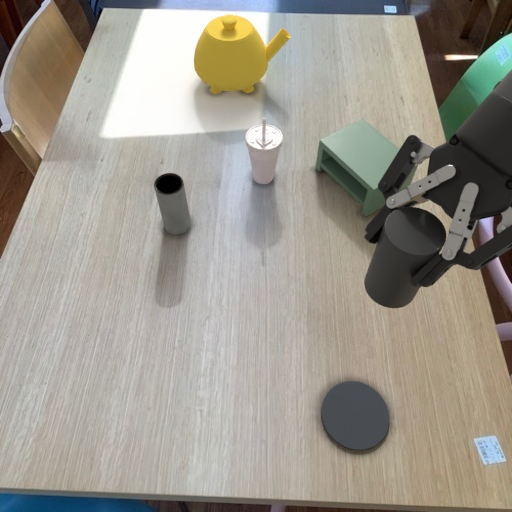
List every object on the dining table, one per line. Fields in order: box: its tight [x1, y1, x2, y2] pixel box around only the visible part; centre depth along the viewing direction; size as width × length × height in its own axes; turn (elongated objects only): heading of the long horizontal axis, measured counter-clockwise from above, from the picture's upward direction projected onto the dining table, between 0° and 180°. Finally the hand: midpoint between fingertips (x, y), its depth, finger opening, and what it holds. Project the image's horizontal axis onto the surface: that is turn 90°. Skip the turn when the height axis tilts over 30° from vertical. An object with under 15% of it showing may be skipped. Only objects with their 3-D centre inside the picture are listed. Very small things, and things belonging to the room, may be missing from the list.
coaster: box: [320, 380, 390, 451], centre depth 63 cm, size 9×9×1 cm
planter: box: [153, 172, 192, 236], centre depth 77 cm, size 4×4×10 cm
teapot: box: [193, 14, 292, 95], centre depth 98 cm, size 20×16×14 cm
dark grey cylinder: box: [363, 206, 447, 309], centre depth 48 cm, size 6×6×10 cm
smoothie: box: [244, 116, 284, 185], centre depth 82 cm, size 6×6×14 cm
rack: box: [315, 118, 419, 217], centre depth 84 cm, size 14×10×7 cm
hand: (391, 261), depth 46 cm, fingers closed on dark grey cylinder, 5 cm apart
